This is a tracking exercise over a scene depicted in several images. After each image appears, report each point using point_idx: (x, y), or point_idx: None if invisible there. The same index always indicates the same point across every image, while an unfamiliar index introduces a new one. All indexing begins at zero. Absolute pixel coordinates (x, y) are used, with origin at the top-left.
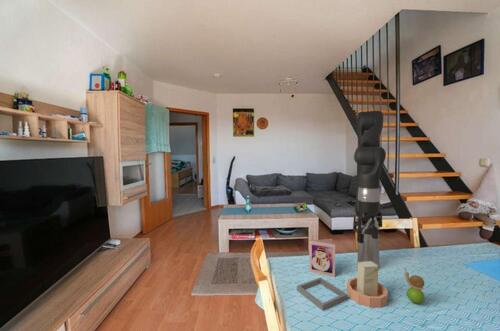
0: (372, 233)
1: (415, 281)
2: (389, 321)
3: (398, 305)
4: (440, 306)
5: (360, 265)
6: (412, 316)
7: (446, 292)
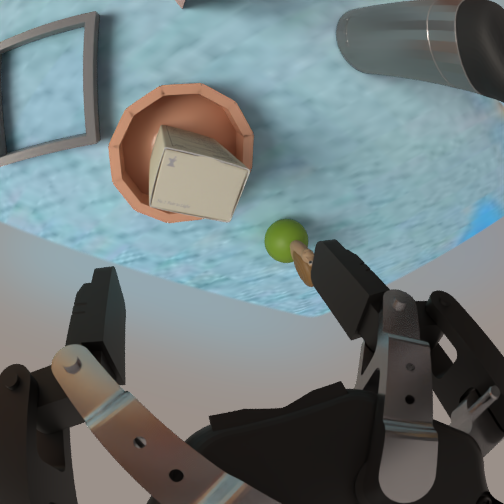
0: (337, 271)
1: (299, 269)
2: (138, 255)
3: None
4: None
5: (155, 171)
6: (211, 261)
7: (374, 235)
